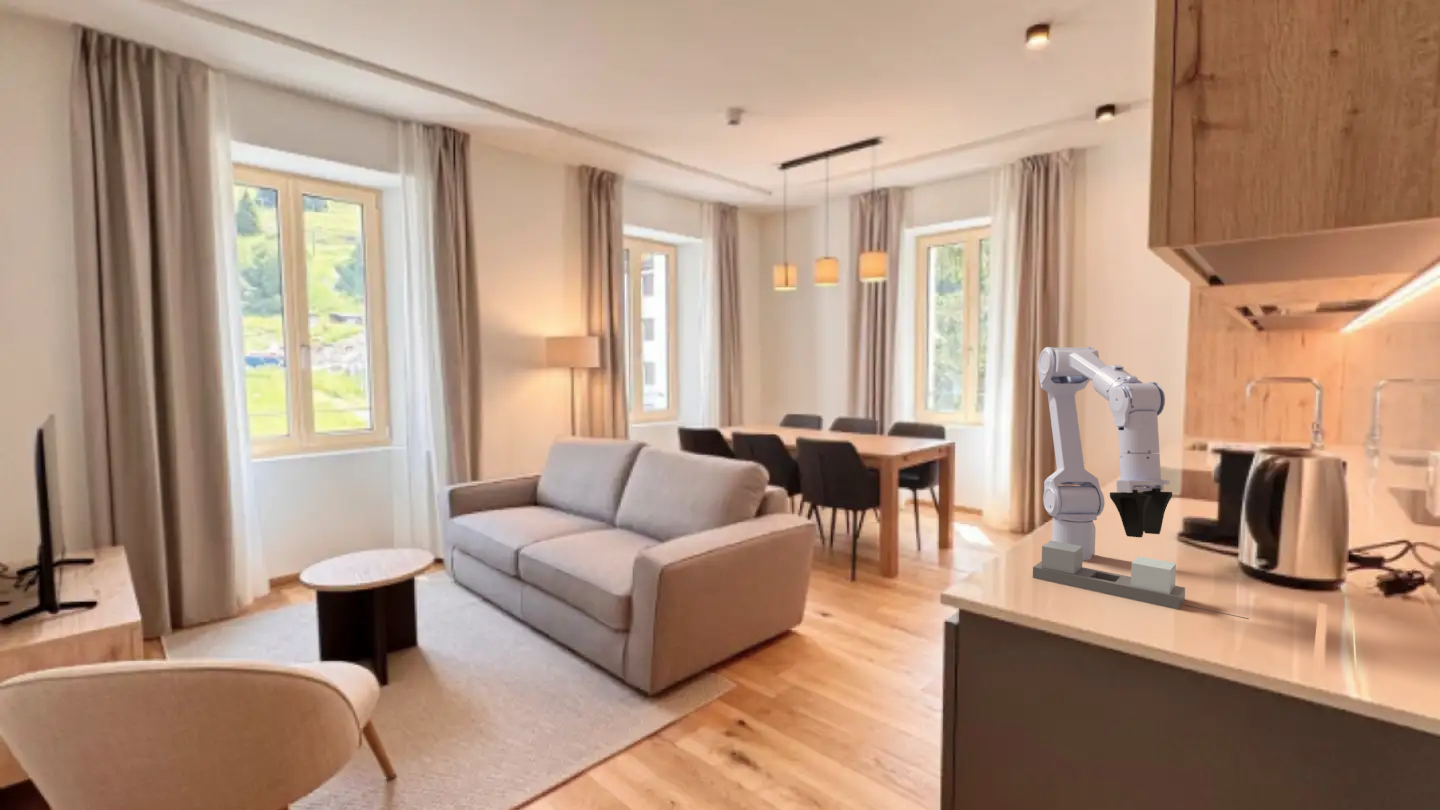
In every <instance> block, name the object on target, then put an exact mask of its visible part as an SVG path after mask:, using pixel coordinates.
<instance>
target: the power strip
mask: <svg viewBox="0 0 1440 810" xmlns="http://www.w3.org/2000/svg"><path fill="white" fill-rule="evenodd" d="M1082 559H1083V546H1079V545H1073V544H1068V543H1062V542H1056V541H1052V540H1050V541H1048V542H1046V543H1044V544H1043V545H1042V546H1041V561H1039V562H1038V563H1036V564H1034V566H1032V578H1033V579H1035V580H1036V579H1037V580H1041V581H1044V582H1045V581H1046V582H1050V583H1055V584H1060V585H1064V586H1067V587H1072V588H1077V589H1081V590H1087V591H1091V592H1096V593H1101V594H1104V595H1110V596H1114V597H1119V598H1123V599H1127V600H1132V601H1137V602H1142V603H1144V604H1145V603H1146V604H1150V605H1156V606H1160V607H1164V608H1169V609H1173V610H1179V609H1180V608H1181V606H1182V604H1183V603H1184V601H1185V600H1186V587H1185V586H1181V585H1180V586H1179V585H1175V587H1174V589H1173V590H1172V592H1171V593H1170V594H1166V593H1161V592H1156V591H1151V590H1146V589H1141V588H1137V587H1132V586H1131V575H1130V576H1128V575H1123V574H1118V573H1113V572H1108V571H1103V570H1098V569H1093V568H1088V567H1085V566H1084V567H1083V560H1082ZM1183 606H1185V607H1189V608H1194V609H1198V610H1203V611H1209V612H1214V613H1217V614H1223V615H1227V616H1230V617H1231V616H1232V617H1235V618H1237V617H1238V618H1241V619H1246V620H1249V619H1250V618H1248V617H1243V616H1239V615H1235V614H1229V613H1225V612H1221V611H1215V610H1211V609H1207V608H1202V607H1197V606H1192V605H1188V604H1183Z"/></svg>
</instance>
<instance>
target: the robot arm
mask: <svg viewBox="0 0 1440 810" xmlns="http://www.w3.org/2000/svg"><path fill="white" fill-rule="evenodd" d="M1124 369H1125V367H1124V366H1122V365H1121V364H1112V365H1107V364H1106V363H1105V362H1104V361H1102V360H1101V359H1100V355H1099V351H1098V349H1095V347H1092V346H1086V347H1077V346H1076V347H1050V346H1046V347H1044V348H1043V349H1042V351H1041V352H1040V354H1039V357H1038V361H1037V370H1038V378H1039V384H1040V389H1042V390H1044V391H1045V392H1046V393H1047V397H1048V398H1047V399H1048V400H1047V401H1048V406H1049V415H1050V423H1051V431H1052V433H1051V434H1052V441H1053V447H1054V448H1053V449H1054V456H1055V463H1056V470H1055V471H1054V472H1052V474H1050V475H1048V476H1047V477H1046V479H1044V482H1043V485H1044V487H1043V490H1044V491H1043V496H1042V497H1043V498H1042V499H1043V500H1042V502H1043V507H1044V509H1045V510H1046V512H1047V514H1048V515H1050V516H1051V517H1052V528H1051V529H1052V533H1051V534H1052V536H1051V541H1056V542H1062V543H1068V544H1073V545H1079V546H1083V559H1082V561H1089V560H1091V559H1092V558H1093V557H1092V556H1098V557H1100V555H1098V554H1096V553H1095V552H1096V524H1095V522H1094V521H1097V520H1098V518H1097V517H1098V516H1100V515H1101V514H1102V512H1103V511H1104V508H1105V496H1104V493H1103V491H1102V490H1101V487H1100V483H1099V479H1098V477H1096V476H1095V475H1093V474H1092V473H1091V472H1090V471H1088V470H1086V468H1085V462H1084V456H1083V447H1082V442H1081V441H1082V440H1081V433H1080V426H1079V419H1078V412H1077V411H1078V410H1077V402H1076V394H1077V392H1079V391H1082V390H1084V389H1085V388H1086V387H1087V385H1088V384H1089V383H1090V381H1092V388H1093V389H1094V391H1095V392H1097V394H1099V395H1100V396H1102V397H1103V398H1104V399H1105V400H1106V401H1108V406H1109V410H1110V413H1111V414H1112V418H1113V424H1114V426H1115V427H1116V428H1117V433H1118V434H1117V435H1118V436H1117V437H1118V455H1119V475H1120V477H1119V479H1118V480H1116V491H1113V492H1109V497H1110V500H1111V501H1112V503H1113V504H1114V506H1115V507H1116V509H1117V511H1118V514H1119V516H1120V520H1121V522H1122V527H1123V528H1124V532H1125V535H1126V536H1127V537H1129V538H1131V537H1132V538H1143V536H1144V534H1150V535H1160V534H1161V532H1162V531H1161V530H1162V527H1163V526H1162V525H1163V521H1164V517H1165V512H1166V510H1167V506H1168V504H1169V502H1170V500H1171V499H1172V498H1173V492H1172V491H1165V489H1164V487H1165V486H1164V485H1166V486H1167V485H1170V482H1171V481H1170V480H1167V479H1166V480H1165V479H1163V478H1162V475H1161V473H1162V471H1161V457H1160V455H1161V454H1160V441H1159V440H1160V437H1159V423H1158V422H1159V421H1158V419H1159V418H1158V416H1159V415H1161V414H1162V412H1163V411H1164V408H1165V405H1166V396H1165V391H1164V389H1163V388H1162V386H1161V385H1159V383H1158V382H1156V381H1150V382H1142V381H1141V380H1139V379H1138V377H1137V376H1135V375H1132V374H1130V373H1129V372H1127V371H1126V369H1125V370H1124Z"/></svg>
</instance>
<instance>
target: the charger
mask: <svg viewBox="0 0 1440 810" xmlns="http://www.w3.org/2000/svg"><path fill="white" fill-rule="evenodd" d="M1130 565H1131V567H1130V568H1131V569H1130V570H1131V571H1130V577H1131V586H1132V587H1137V588H1141V589H1146V590H1151V591H1156V592H1161V593H1166V594H1170V593H1171V592H1172V590H1173V589H1174V587H1175V586H1176V579H1177V578H1176V576H1177V574H1176V573H1177V562H1174V561H1173V562H1172V561H1169V560H1168V561H1167V560H1162V559H1155V558H1150V557H1145V556H1137V557H1136V558H1135V559H1134V560H1132V562H1131V564H1130Z"/></svg>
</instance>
